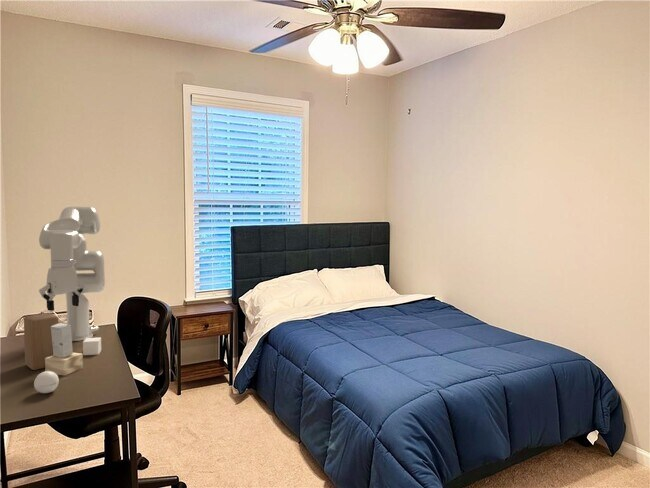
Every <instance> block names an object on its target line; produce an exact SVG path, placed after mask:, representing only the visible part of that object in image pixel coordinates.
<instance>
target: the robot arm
mask: <svg viewBox="0 0 650 488" xmlns="http://www.w3.org/2000/svg"><path fill="white" fill-rule="evenodd" d="M100 230H101V222H100V218H99V213H98V212H97V210H96V208H94V207H91V206H68V207H65V208H63V209H62V211H61V212H60V216H59V217H58V219H55V220H53V221H51V222H48V223H46V224H44V226H43V227H42V229H41V231H40V234H39V237H38V242H39V245H40V247H41V248H42V249H43V250H44V249H45V250H50V268H48V270H47V274H46V283H45V286H43V287H42V288H39V290H38V292H39V294H40V295H41V297H42V298H43V299H44V300H45V301H46V309H47V310H48V311H50V312H54V311H55V301H54V300H53V299H54V298H55V297H56V296H57V295H64V294H65V298H66V324H68V325H71V336H72V342H79V341H84V340H85V339H86V338H94V332H95V331H99V326H90V303H89V300H88V298H87V297H86V295H84V294H87V293H89V294H91V293H101V292H103V290H104V289H105V283H106V281H105V279H106V277H105V258H104V254H103V253H102V252H101V251H99V250H88V249H87V248H88V247H87V240H86V238H85V237H84V235H96V234H98V233H99V232H100ZM77 271H78V273H77ZM80 271H81V273H80ZM83 271H93V272H83Z"/></svg>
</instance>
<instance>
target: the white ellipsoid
mask: <svg viewBox="0 0 650 488" xmlns="http://www.w3.org/2000/svg"><path fill="white" fill-rule="evenodd" d="M65 379H67V377H65V378H64V380H65ZM60 380H63V378H62V379H61V378H60V379H59V375H57V374H56V373H54V372H51V371H42V372H41V373H39V374H37V376H36V378H35V379H34V382H33V386H34V389H35V390H36V391H37V393H40V394H49V393H51V392H53V391H54V390H56V389H57V387H58V386H59V382H60Z"/></svg>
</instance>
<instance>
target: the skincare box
mask: <svg viewBox="0 0 650 488" xmlns="http://www.w3.org/2000/svg"><path fill="white" fill-rule="evenodd" d="M51 335H52V345H53V355H54V356H57V357H61V358H64V357H67V356H70V355H72V354H73V353H74V352H73V341H72V336H71V325H68V324H67V323H62V322H59V323H58V324H56V325H53V326H51Z"/></svg>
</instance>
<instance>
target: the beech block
mask: <svg viewBox="0 0 650 488" xmlns="http://www.w3.org/2000/svg"><path fill="white" fill-rule="evenodd" d="M83 368H84V355H83V352H82V353H78V352H73V354H72V355H70V356H67V357H64V358H61V357H57V356H54V355H53V356H50V357H47V358H45V368H44V369H45V371H51V372H54V373H56V374H57V376H64V377H65V376H67V375H69V374H71V373H75V372H76V371H79V370H82V369H83ZM45 371H44V372H45Z"/></svg>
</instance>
